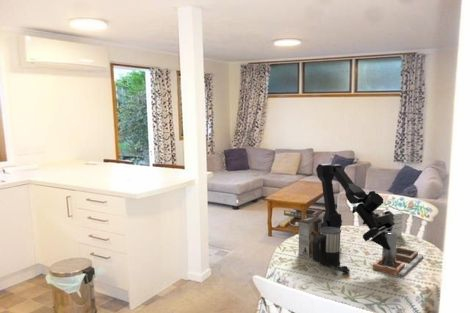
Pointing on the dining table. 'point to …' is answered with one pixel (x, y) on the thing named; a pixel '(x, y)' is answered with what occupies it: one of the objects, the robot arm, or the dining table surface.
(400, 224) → the supplement box
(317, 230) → the coffee box
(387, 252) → the grey peg
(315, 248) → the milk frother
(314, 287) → the dining table surface
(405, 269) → the socket rail
